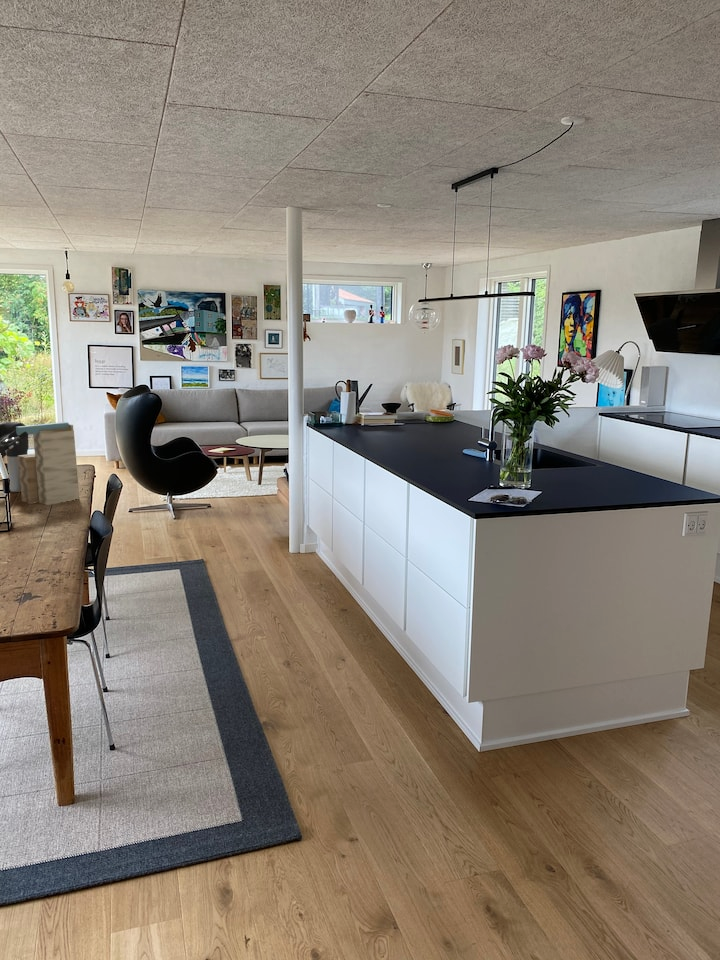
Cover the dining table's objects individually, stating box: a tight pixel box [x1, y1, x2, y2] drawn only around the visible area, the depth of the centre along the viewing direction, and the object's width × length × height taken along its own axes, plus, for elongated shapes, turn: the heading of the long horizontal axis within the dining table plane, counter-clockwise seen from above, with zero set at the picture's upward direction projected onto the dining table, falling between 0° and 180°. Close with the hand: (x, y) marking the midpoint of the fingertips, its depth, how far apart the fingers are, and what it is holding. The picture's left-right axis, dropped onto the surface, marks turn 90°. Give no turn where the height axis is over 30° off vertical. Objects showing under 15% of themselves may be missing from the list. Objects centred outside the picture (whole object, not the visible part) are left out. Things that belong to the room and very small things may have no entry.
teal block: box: [16, 421, 69, 436], centre depth 325 cm, size 4×22×4 cm, turn 138°
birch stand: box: [32, 423, 80, 506], centre depth 332 cm, size 8×15×34 cm, turn 138°
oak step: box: [18, 453, 39, 505], centre depth 336 cm, size 8×14×21 cm, turn 138°
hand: (22, 432), depth 318 cm, fingers open, 8 cm apart
